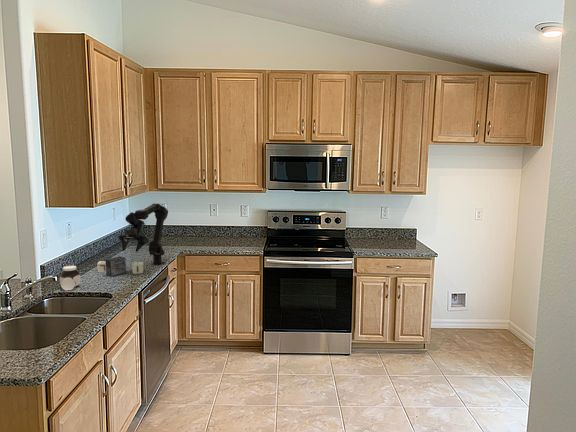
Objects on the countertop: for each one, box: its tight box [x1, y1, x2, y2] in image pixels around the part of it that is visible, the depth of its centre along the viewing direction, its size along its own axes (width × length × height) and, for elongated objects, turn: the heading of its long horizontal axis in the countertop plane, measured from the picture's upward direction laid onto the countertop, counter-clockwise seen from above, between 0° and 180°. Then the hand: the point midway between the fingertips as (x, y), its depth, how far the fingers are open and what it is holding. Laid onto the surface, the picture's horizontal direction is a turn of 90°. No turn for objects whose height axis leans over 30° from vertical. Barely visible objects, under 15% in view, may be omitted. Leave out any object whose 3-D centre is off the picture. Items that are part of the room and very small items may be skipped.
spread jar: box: [59, 265, 82, 292], centre depth 251 cm, size 12×11×12 cm
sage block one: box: [131, 261, 144, 275], centre depth 287 cm, size 6×6×6 cm
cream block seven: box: [96, 260, 106, 273], centre depth 289 cm, size 6×6×6 cm
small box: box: [104, 256, 127, 277], centre depth 282 cm, size 11×6×10 cm, turn 141°
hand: (129, 251), depth 279 cm, fingers open, 9 cm apart
